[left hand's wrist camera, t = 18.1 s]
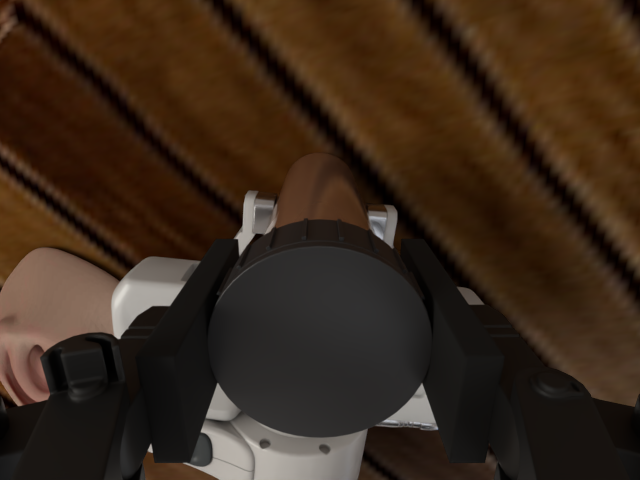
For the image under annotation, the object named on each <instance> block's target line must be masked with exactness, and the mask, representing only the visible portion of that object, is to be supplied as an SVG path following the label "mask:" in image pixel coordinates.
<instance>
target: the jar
mask: <svg viewBox="0 0 640 480" xmlns="http://www.w3.org/2000/svg"><path fill="white" fill-rule="evenodd" d="M304 218H308V220H313V219H326V220H336V221H337V219H341V221H342V222H346V223H350V224H353V225H356V226H359V227H361V228H363V229H365V230H368V229H370V230H372V231H373V234H375V235H376V233H375V230H374V228H373V225H372V223H371V220H370V218H369V215H368V212H367V210H366V207H365V205H364V202H363V199H362V197H361V194H360V192H359V189H358V186H357V184H356V181H355V179H354V176H353V174H352V172H351V170H350V168H349V167H348V166H347V165H346V163H345V162H343V161H342V160H341V159H339V158H338V157H336V156H334V155H331V154H327V153H313V154H309V155H306V156H304V157H302V158H300V159H299V160H297V161H296V162H295V163H294V164H293V165H292V167H291V168H290V170H289V171H288V173H287V176H286V178H285V181H284V183H283V186H282V188H281V191H280V194H279V196H278V199H277V201H276V204H275V207H274V209H273V212H272V214H271V217H270V220H269V222H268V225H267V227H266V230H265V233H264V235H265V234H267V233H268V232H270V231H271V230H272V228H273V227H276V228H278V227H281V226H284V225H287V224H290V223H294V222H298V221H303V220H304ZM264 235H263V236H264Z"/></svg>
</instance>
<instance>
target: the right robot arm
mask: <svg viewBox="0 0 640 480" xmlns="http://www.w3.org/2000/svg"><path fill="white" fill-rule="evenodd" d="M276 201H277V194H275V193H267V192H259V191H248V193H247V194H246V196H245V201H244V211H243V226H242V228H241V229H240V230H239V232H238V233H237V235H236V236H235V238H234V239H238V243H239V257H241V255H242V254H243V252H244V250H245V248H246V246H247V245H248V244H249V242H250V241H251V240H252V238H253V237H254V235H255V234H256V233H257V234H264V233H265V230H266V227H267V225H268V222H269V220H270V217H271V214H272V212H273V209H274V207H275V204H276ZM365 207H366V210H367V212H368V215H369V218H370V220H371V223H372V225H373V228H374V230H375V233H376V236H378V237H379V238H381V239H382V240H383V241H384V242H386V243H387V244H388V245H389V246H390V247H391V248H392V249H393V248H394V246H393V241H394V235H395V230H396V224H397V211H396V209H395V208H394V206H391V205H381V204H371V203H366V204H365ZM200 262H201V261H194V260H184V259H174V258H164V257H148V258H146V259H144V260H143V261H141V262H140V263H139V264H138V265H137V266H135V267H134V268H133V269H132V270H131V271H130V272H129V273H128V274H127V275H126V276H125V277H124V278H123V279H122V280H121V281H120V282H119V284H118V285H117V287H116V288H115V290H114V292H113V295H112V300H111V312H112V323H113V332H114V336H115V337H116V338H117V339H120V338H121V335H122V334H123V333H124V332H125V330H126V329H128V327H129V325H130V324H131V323H132V322H133V320H134V319H135V318H136V317H137V316H138V315H139V314H141V313H142V312H144V311H145V310H147V309H149V308H150V307H152V306H170V305H171V304H172V302H173V301H174V299H175V298H176V296H177V295H178V293H179V292H180V291H181V289H182V288H183V286H184V285H185V283H186V282H187V280H188V279H189V278H190V276H191V275H192V273H193V272H194V270H195V269H196V267H197V266H198V265H199V263H200ZM457 288H458V290H459V291H460V292H461V294H462V295H463V297H464V298H465V300H466V301H467V303H468V304H469V305H484V303H483V302H482V301H481V300H480V299H479V297H478V296H477V295H476V294H475V293H474V292H473V291H472V290H470V289H468V288H463V287H457ZM375 426H381V427H412V428H418V429H420V430H427V431H432V430H438V427H437V425H436V422H435V419H434V416H433V413H432V410H431V407H430V404H429V401H428V399H427V396H426V393H425V390H424V387H423V384H421V385H420V387H419V388H418V390H417V391H416V393H415V394H414V396H413V397H412V398H411V399H410V400H409V401H408V402H407V403H406V404H405V405H404V406H403V407H402V408H401V409H400V410H399V411H398V412H396V413H395V414H394V415H392V416H391V417H389V418H388V419H386V420H385V421H383V422H381V423H379V424H377V425H375ZM367 430H368V429H366V430H363V431H360V432H356V433H353V434H349V435H344V436H338V437H327V438H312V437H302V436H295V435H291V434H287V433H283V432H280V431H277V430H274V429H271V428H269V427H267V426H265V425H263V424H261V423H259V422H257V421H255V420H254V419H252V418H250V417H249V416H247V415H246V414H245V413H244V412H242V411H241V410H240V409H239V408H237V407H236V406H235V405H234V404H233V403H232V402H231V400H230V399H229V398H228V397H227V396H226V394H225V393H224V392H223V390H222V389H221V388H220V386H219V384H218V383H217V386H216V389H215V392H214V395H213V398H212V401H211V404H210V407H209V409H208V412H207V415H206V418H205V421H204V424H203V427H202V430H201V432H200V435H199V438H198V441H197V444H196V447H195V450H194V453H193V456H192V458H191V461H190V463H184V464H187V465H189V466H192V467H194V468H197V469H199V470H201V471H204V472H206V473H208V474H210V475H212V476H214V477H216V478H218V479H219V480H358V476H359V471H360V466H361V461H362V456H363V451H364V446H365V441H366V436H367ZM148 451H149V452H152V453H153V451H152V445H150V447H149V449H148Z"/></svg>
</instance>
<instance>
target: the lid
mask: <svg viewBox="0 0 640 480" xmlns="http://www.w3.org/2000/svg"><path fill="white" fill-rule="evenodd" d="M217 295H219V298H218V300H217V302H216V304H215V307H214V309H213V312H212V314H211V317H210V321H209V325H208V331H207V343H208V352H209V361H210V366H211V369H212V371H213V374H214V376H215V379H216V380H217V382H218V384H219V386H220V388H221V389H222V390H223V392H224V393H225V394H226V396H227V397H228V398H229V399H230V400H231V402H232V403H233V404H234V405H235V406H236V407H237V408H239V409H240V410H241V411H242V412H244V413H245V414H246V415H247V416H249V417H250V418H252V419H254V420H255V421H257V422H259V423H261V424H263V425H265V426H267V427H269V428H271V429H274V430H277V431H280V432H283V433H287V434H291V435H295V436H302V437H312V438H327V437H338V436H344V435H349V434H353V433H356V432H360V431H363V430H366V429H368V428H371V427H373V426H375V425H377V424H379V423H381V422H383V421H385V420H386V419H388V418H389V417H391V416H392V415H394V414H395V413H396V412H398V411H399V410H400V409H401V408H402V407H403V406H404V405H405V404H406V403H407V402H408V401H409V400H410V399H411V398H412V397H413V396H414V394H415V393H416V391H417V390H418V388H419V387H420V385H421V384H422V382H423V380H424V378H425V376H426V374H427V371H428V368H429V365H430V358H431V350H432V340H433V333H432V326H431V321H430V318H429V315H428V312H427V309H426V307H425V305H424V303H423V301H422V300H425V297H424V295H423V293H422V291H421V289H420V287H419V285H418V283H417V281H416V279H415V277H414V275H413V273H412V272H408V270H407V268H406V266H405V264H404V263H403V261H402V259H401V257H400V255H399V253H398V251H397V249H396V248H395V247H394V248H393V249H392V248H391V247H390V246H389V245H388V244H387V243H386V242H384V241H383V240H382V239H381V238H379V237H378V236H376V235H375V234H373V231H372V230H370V229H368V230H365V229H363V228H361V227H359V226H356V225H353V224H350V223H346V222H342V221H341V219H337V221H336V220H326V219H313V220H308V218H304V220H303V221H298V222H294V223H290V224H287V225H284V226H281V227H278V228H276V227H273V228H272V230H271V231H270V232H268V233H267V234H265V235H264V236H262V237H261V238H259V239H258V240H256V241H255V242H254V243H253V244H252V245H250V244H248V245H247V246H246V248H245V250H244V252H243V254H242V255H241V257H240V258H239V259H238V261H237V262H236V264H235V266H234V267H233V268H231V267H230V269H229V271H228V273H227V275H226V277H225V279H224V281H223V283H222V285H221V287H220V289H219V291H218V293H217Z"/></svg>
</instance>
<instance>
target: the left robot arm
mask: <svg viewBox="0 0 640 480" xmlns="http://www.w3.org/2000/svg"><path fill="white" fill-rule="evenodd" d="M400 257H401V259H402V261H403V263H404V264H405V266H406V268H407V270H408V272H412V273H413V275H414V277H415V279H416V281H417V283H418V285H419V287H420V289H421V291H422V293H423V295H424V297H425V300H422V301H423V303H424V305H425V307H426V309H427V312H428V315H429V318H430V321H431V326H432V333H433V340H432V350H431V358H430V365H429V368H428V371H427V374H426V376H425V378H424V380H423V382H422V384H423V387H424V390H425V393H426V396H427V399H428V401H429V404H430V407H431V410H432V413H433V416H434V419H435V422H436V425H437V427H438V430H439V433H440V436H441V439H442V442H443V445H444V448H445V450H446V453H447V456H448V459H449V462H450V463H485V460H486V455H487V449H488V444H489V443H490V445H491V447H492V449H493V451H494V454H495V456H496V458H497V460H498V462H497V467H496V472H495V476H494V480H640V394H639V396H638V399H637V402H636V405H635V407H632V406H627V405H622V404H617V403H613V402H608V401H603V400H599V399H595V398H592V397H591V395H590V393H589V392H588V390H587V389H586V388H585V387H584V385H583V384H582V383H580V382H579V381H577V380H576V379H575V378H573V377H572V376H570V375H568V374H566V373H564V372H562V371H559V370H556V369H553V368H549V367H545V366H544V365H543V363H542V362H541V361H540V360H539V359H538V357H537V356H536V355H535V354H534V352H533V351H532V350H531V349H530V347H529V346H528V345H527V344H526V342H525V341H524V340H523V339H522V338H521V337H519V334H518V333H517V331H516V330H515V329H514V328H512V325H511V324H510V323H509V321H508V320H507V319H506V318H505V317H504V315H503V314H501V313H500V312H498V311H497V310H495V309H494V308H492V307H490V306H489V305H469V304H468V303H467V301H466V300H465V298H464V297H463V295H462V294H461V292H460V291H459V290H458V288H457V287H456V285H455V284H454V282H453V281H452V279H451V278H450V276H449V275H448V274H447V272H446V271H445V269H444V268H443V266H442V265H441V263H440V262H439V261H438V259H437V258H436V256H435V255H434V253H433V252H432V250H431V249H430V248H429V246H428V245H427V243H426V242H425V240H424V239H402V240H401V253H400ZM239 258H240V257H239V243H238V239H216V240H215V241H214V243H213V244H212V246H211V247H210V249H209V250H208V251H207V253H206V254H205V256H204V257H203V259H202V260H201V262H200V263H199V265H198V266H197V267H196V269H195V270H194V272H193V273H192V275H191V276H190V278H189V279H188V280H187V282H186V283H185V285H184V286H183V288H182V289H181V291H180V292H179V293H178V295H177V296H176V298H175V299H174V301H173V302H172V304H171V305H170V306H152V307H150V308H149V309H147V310H145V311H144V312H142V313H141V314H139V315H138V316H137V317H136V318H135V319H134V320H133V322H132V323H131V324H130V325H129V327H128V329H126V330H125V332H124V333H123V334H122V335H121V338H120V339H117V338H116V337H115V336H113V335H112V334H108V333H104V332H92V333H85V334H80V335H76V336H72V337H70V338H67V339H65V340H62V341H60V342H58V343H57V344H55V345H53V346H52V347H50V348H49V349H47V350H46V351H45V353H44V354H43V355H42V356H41V357H40V360H41V364H42V367H43V371H44V374H45V378H46V381H47V385H48V389H49V392H50V396H49V398H48V400H44V401H40V402H36V403H31V404H26V405H22V406H17V407H12V408H8V409H5V406H4V403H3V400H2V397H1V396H0V480H145V472H144V467H143V462H142V461H143V459H144V457H145V455H146V453H147V451H148V449H149V447H150V445H152V451H153V456H154V461H155V463H190V461H191V458H192V456H193V453H194V450H195V447H196V444H197V441H198V438H199V435H200V432H201V430H202V427H203V424H204V421H205V418H206V415H207V412H208V409H209V407H210V404H211V401H212V398H213V395H214V392H215V389H216V386H217V383H218V382H217V380H216V379H215V376H214V374H213V371H212V369H211V366H210V361H209V352H208V343H207V331H208V325H209V321H210V317H211V314H212V312H213V309H214V307H215V304H216V302H217V300H218V298H219V295H217V293H218V291H219V289H220V287H221V285H222V283H223V281H224V279H225V277H226V275H227V273H228V271H229V269H230V267H231V268H233V267H234V266H235V264H236V262H237V261H238V259H239Z"/></svg>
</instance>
